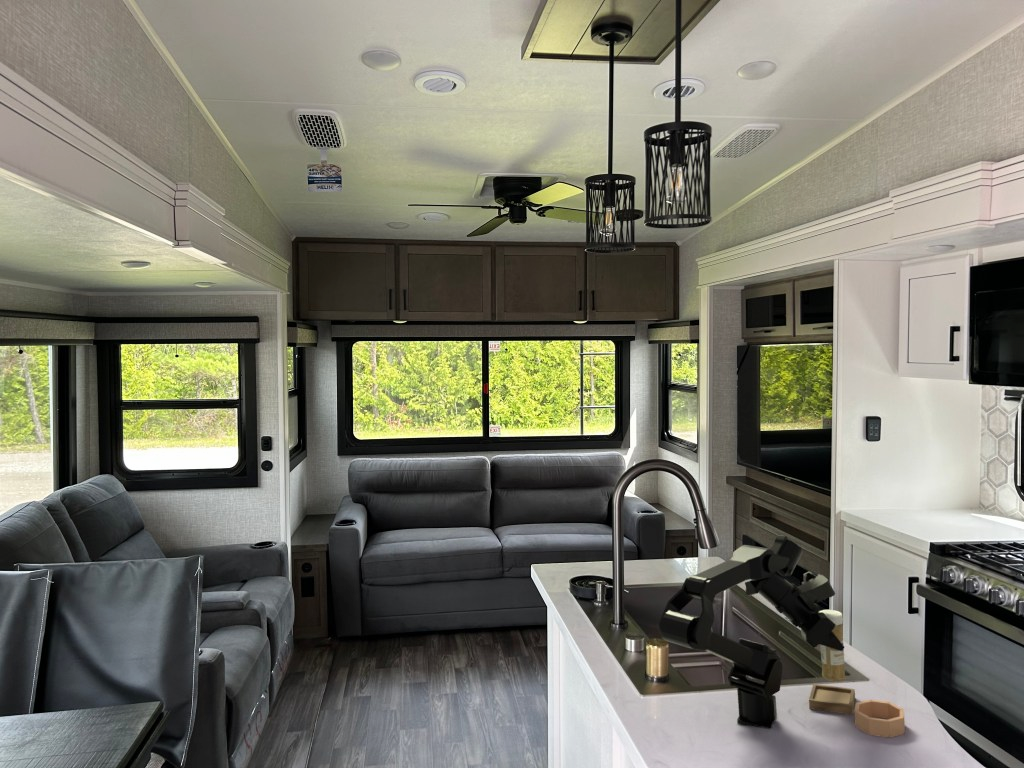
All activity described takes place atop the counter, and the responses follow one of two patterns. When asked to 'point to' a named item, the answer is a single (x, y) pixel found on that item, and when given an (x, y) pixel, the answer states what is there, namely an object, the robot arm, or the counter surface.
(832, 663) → the sprinkles bottle
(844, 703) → the walnut tray
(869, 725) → the holder ring
